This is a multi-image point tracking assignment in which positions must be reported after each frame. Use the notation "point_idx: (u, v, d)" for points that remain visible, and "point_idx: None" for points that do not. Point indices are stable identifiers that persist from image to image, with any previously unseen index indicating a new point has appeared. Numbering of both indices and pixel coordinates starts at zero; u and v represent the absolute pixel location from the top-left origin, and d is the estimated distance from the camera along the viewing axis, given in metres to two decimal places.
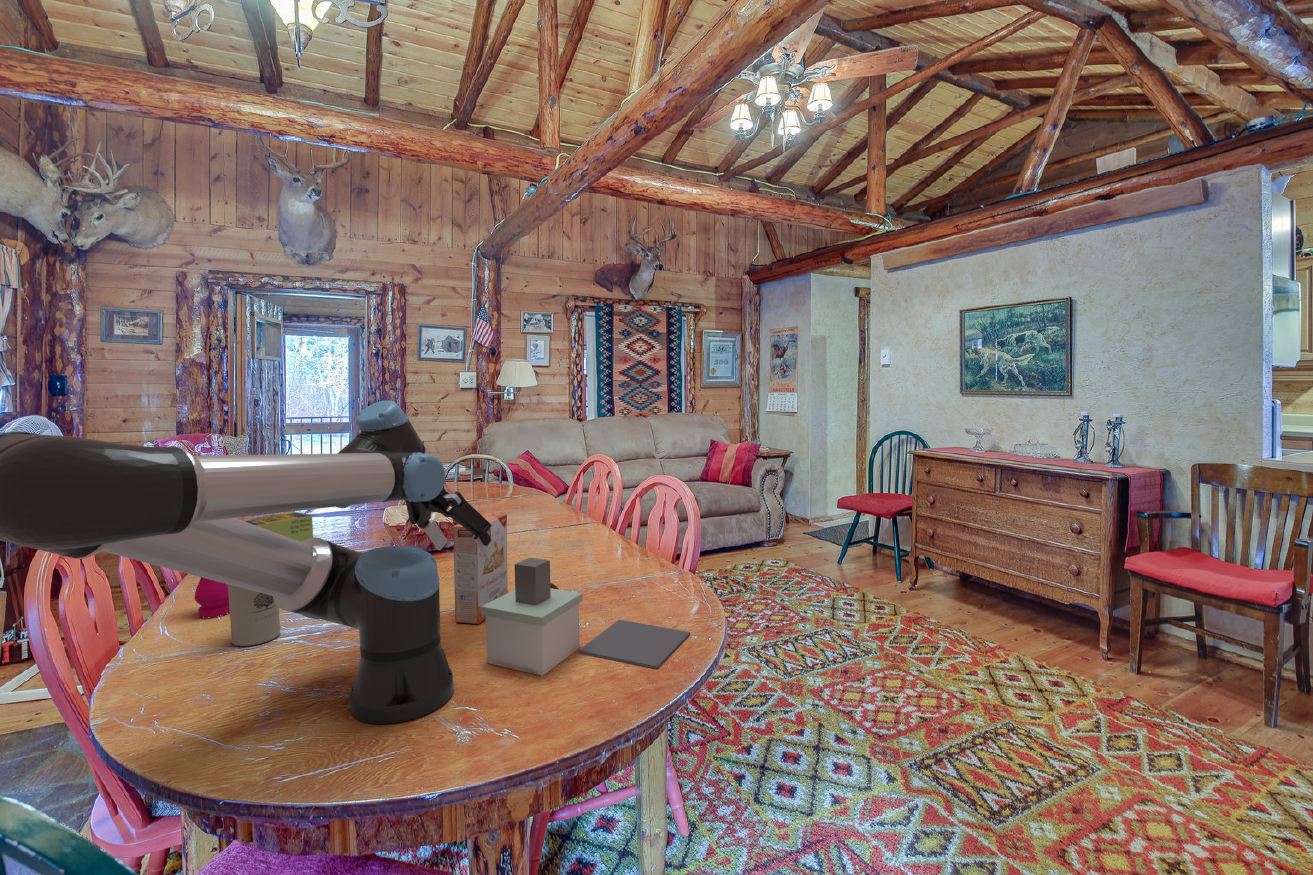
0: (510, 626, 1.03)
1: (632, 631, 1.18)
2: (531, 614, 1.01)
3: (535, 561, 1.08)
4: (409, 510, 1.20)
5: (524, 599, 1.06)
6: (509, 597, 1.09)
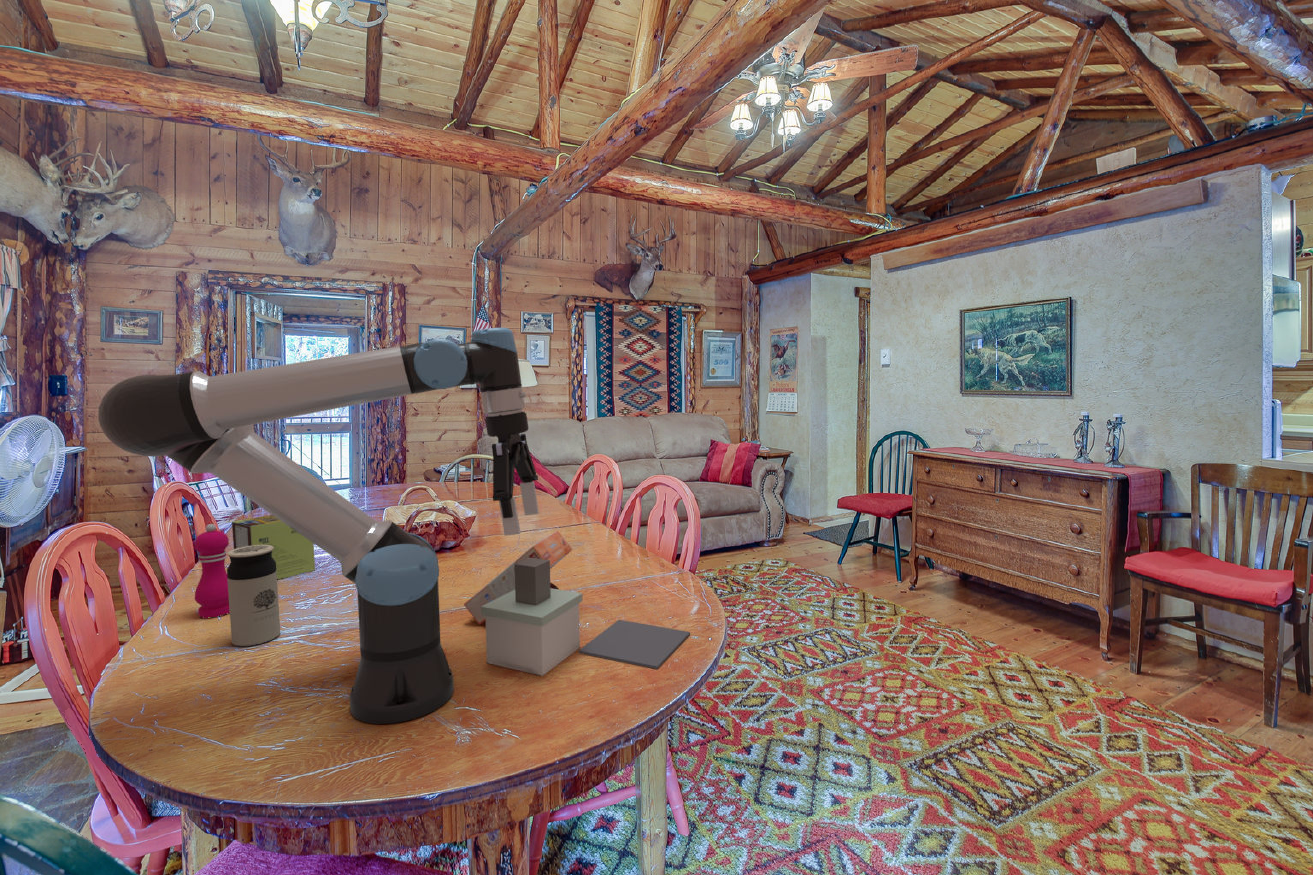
0: (510, 626, 1.03)
1: (632, 631, 1.18)
2: (531, 614, 1.01)
3: (535, 561, 1.08)
4: None
5: (524, 599, 1.06)
6: (509, 597, 1.09)
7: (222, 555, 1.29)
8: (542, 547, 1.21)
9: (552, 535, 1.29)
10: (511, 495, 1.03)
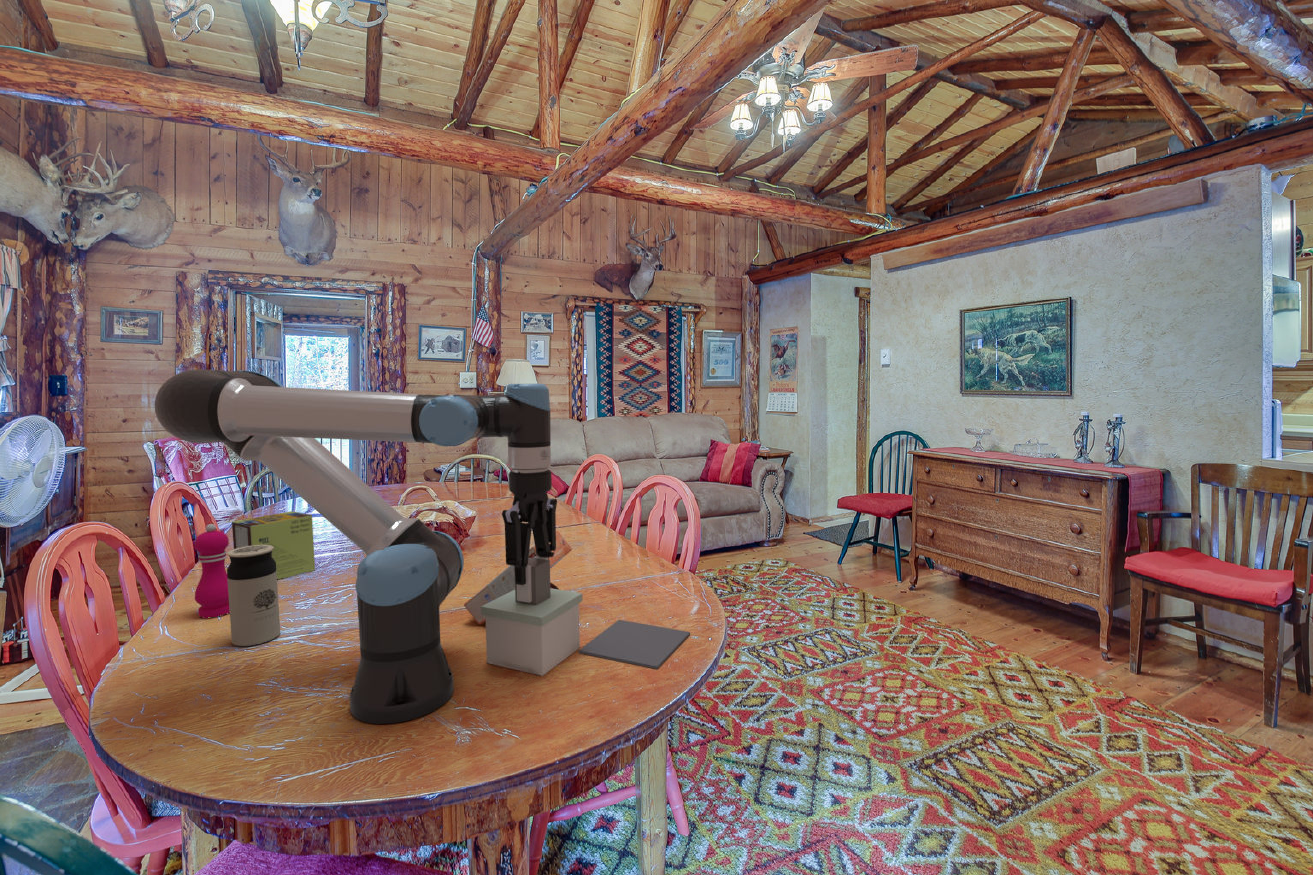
0: (510, 626, 1.03)
1: (632, 631, 1.18)
2: (531, 614, 1.01)
3: (535, 561, 1.08)
4: None
5: None
6: (509, 597, 1.09)
7: (222, 555, 1.29)
8: None
9: None
10: (525, 564, 1.04)
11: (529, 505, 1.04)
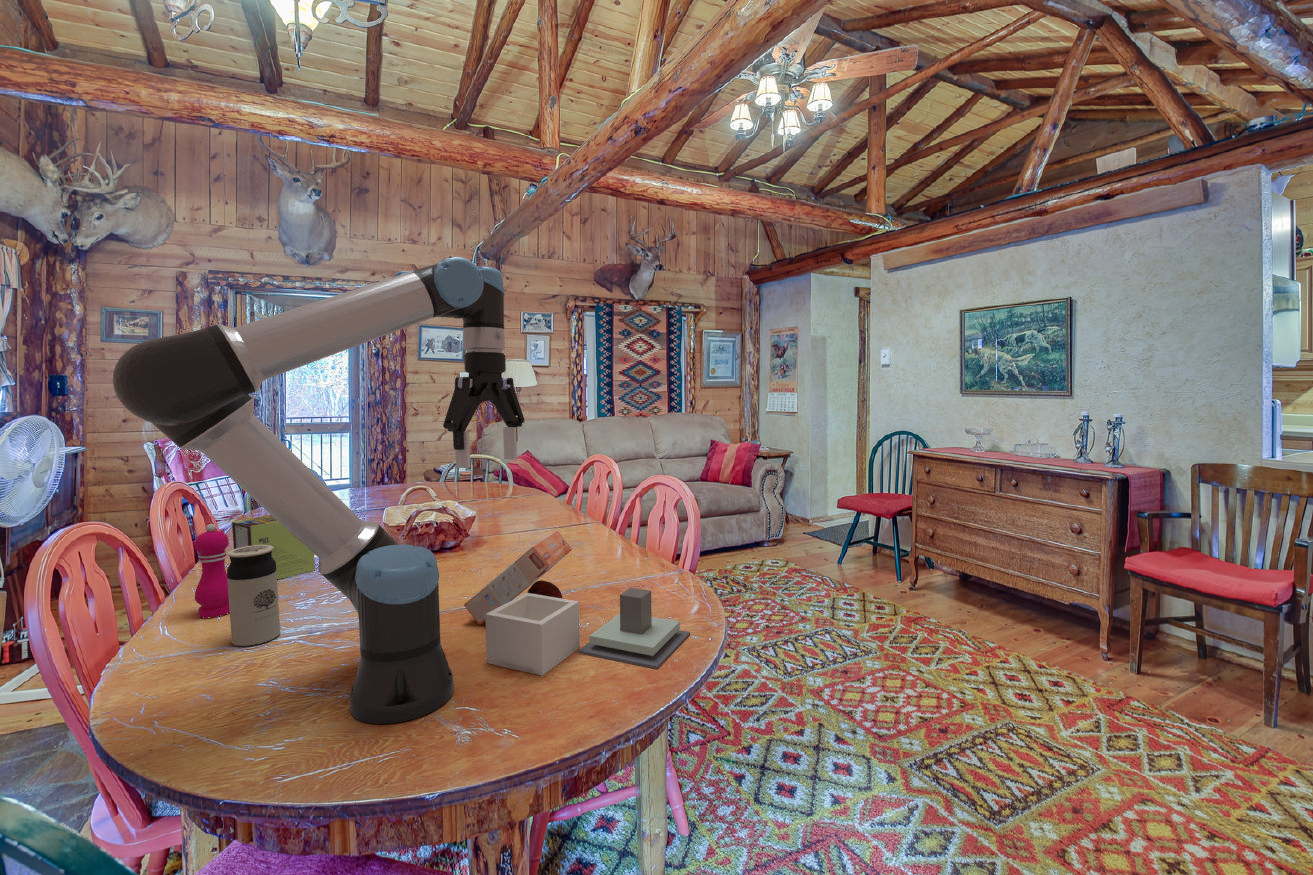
0: (510, 626, 1.03)
1: None
2: (640, 643, 1.07)
3: (638, 591, 1.13)
4: None
5: (629, 628, 1.12)
6: (612, 626, 1.15)
7: (222, 555, 1.29)
8: (542, 547, 1.21)
9: (552, 535, 1.28)
10: (462, 428, 1.06)
11: (484, 382, 1.11)
